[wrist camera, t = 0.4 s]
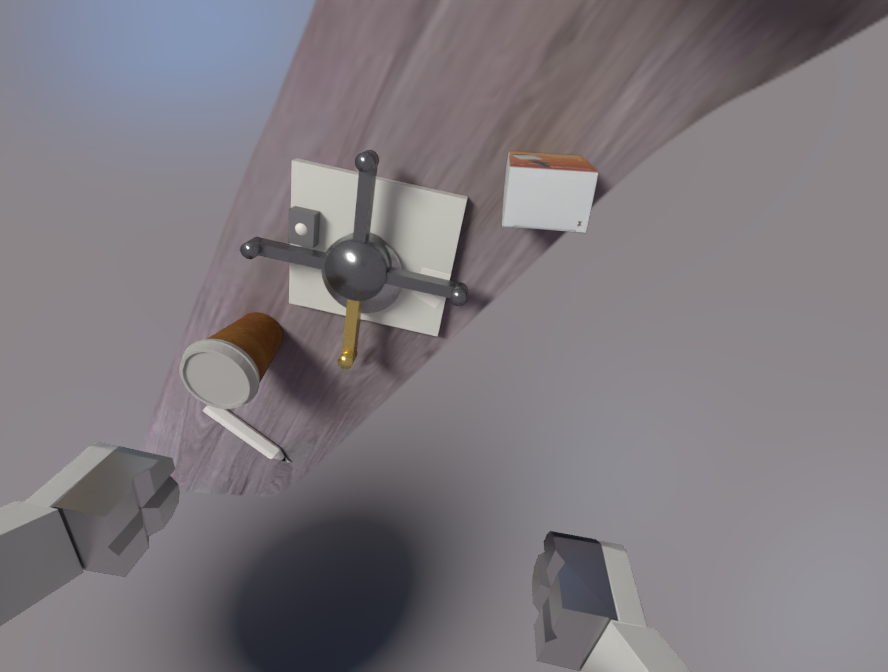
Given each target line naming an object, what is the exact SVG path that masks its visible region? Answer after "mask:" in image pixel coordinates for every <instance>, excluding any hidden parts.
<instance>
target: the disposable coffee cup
mask: <svg viewBox="0 0 888 672" xmlns="http://www.w3.org/2000/svg"><path fill="white" fill-rule="evenodd" d="M282 341H283V332H282V330H281V327H280V326H279V324H278V323H277V322H276V321H275V320H274V319H273V318H271V317H270V316H268V315H266V314H263V313H257V312H255V313H250V314H247V315H246V316H244V317H242V318H241V319H239V320H238V321H236V322H234V323H233V324H231V325H229V326H227V327H226V328H224V329H222V330H221V331H219V332H217V333H216V334H214V335H212V336H211V337H209V338H208V339H206V340H201V341H198V342H195V343H193V344H192V345H190V346H189V347H188V348H187V349H186V350H185V352H184V354H183V358H182V360H181V363H180V367H179V370H180V376H181V379H182V381H183V383H184V385H185V387H186V388H187V390H188V391H189V392H190V393H191V394H192V395H193V396H194V397H195V398H197V399H198V400H200V401H201V402H203V403H205V404H207V405H209V406H212V407H215V408H219V409H232V408H236V407H238V406H240V405H243V404H246V403H248V402H249V401H251V400H252V399H253V398H254V397H255V395H256V394H257V392H258V388H259V383H260V381H261V380H262V378H263V376H264V374H265V372H266V371H267V369H268V367H269V365H270V364H271V362H272V360H273V358H274V357H275V355H276V353H277V351H278V350H279V348H280V346H281V344H282Z"/></svg>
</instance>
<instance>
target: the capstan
mask: <svg viewBox="0 0 888 672" xmlns="http://www.w3.org/2000/svg"><path fill="white" fill-rule="evenodd" d="M378 163H379V157H378V155H377V153H376V152H375V151H373V150H367V151H365V152H362V153H360V154H358V155H357V157H356V158H355V165H356V167H357V169H358V170H359V177H358V188H357V199H356V209H355V220H354V231H353V233H351V234H349V235H346V236H343V237H341V238H340V239H338V240H337V241H336V242H334V243H333V244H332V245H331V246H330V247H329V248H328V250H327V251H326V252H321V251H317V250H313V249H308V248H304V247H299V246H295V245H290V244H286V243H281V242H277V241H273V240H268V239H264V238H260V237H254V238H253V239H251V240H249V241H248V242H246V243H244V244H243V245H242V246H241V248H240V251H241V254H242V255H243V256H244V257H245V258H247V259H253V258H255V257H256V256H257V255H259V256H264V257H268V258H273V259H277V260H282V261H286V262H290V263H295V264H299V265H304V266H308V267H313V268H317V269H321V272H322V278H323V282H324V284H325V287H326V289H327V290H328V292H329V293H330V295H331V296H332V297H333V298H334V299H335V300H336V301H337V302H338V303H339V304H341V305H342V306H344V307H345V308H346V319H345V330H344V340H343V351H342V354H341V356H340V358H339V359H338V365H339V366H340V367H341V368H343V369H349V368H350V367H351V366H352V364H353V362H354V360H355V358H356V357H357V345H358V336H359V327H360V318H361V313H375V312H379V311H382V310H384V309H386V308H387V307H389V306H390V305H391V304H392V303H394V301H395V300H396V299H397V297H398V295H399V294H400V291H401V289H402V288H406V289H411V290H415V291H419V292H424V293H428V294H433V295H437V296H442V297H446V298H450V300H451V302H452V303H453V304H454V305H456V306H462V305H464V304H465V302H466V299H467V293H468V288H467V286H466V285H465V284H464V283H459V282H455V281H450V280H446V279H442V278H437V277H433V276H428V275H424V274H419V273H415V272H410V271H406V270H403V267H402V264H401V261H400V259H399V257H398V255H397V254H396V252H395V251H394V250H393V249H392V248H391V247H390V246H389V245H388V244H387V243H386V242H385V241H384V240H383V239H382V238H381V237H379V236H378V235H376V234H373V233H371V232H370V228H371V219H372V210H373V201H374V192H375V183H376V174H377V165H378Z"/></svg>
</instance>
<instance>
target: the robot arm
mask: <svg viewBox="0 0 888 672" xmlns="http://www.w3.org/2000/svg"><path fill="white" fill-rule="evenodd" d="M174 470H175V467H174V463H173V459H172V458H170V457H166V456H161V455H157V454H152V453H148V452H143V451H139V450H134V449H130V448H125V447H121V446H115V445H111V444H106V443H102V442H99V443H96V444H94V445H91V446H89V447H88V448H87V449H86V450H85V451H83V452H82V453H81V454H80V455H79V456H78V457H76V458H75V459H74V460H73V461H72V462H71V463H69V464H68V465H67V466H66V467H65V468H64V469H62V470H61V471H60V472H59V473H58V474H57V475H55V476H54V477H53V478H52V479H51V480H49V481H48V482H47V483H46V484H45V485H44V486H43V487H41V488H40V489H39V490H38V491H37V492H35V493H34V494H33V495H32V496H31V497H29V498H28V499H27V500H26V501H25V502H22V501H15V502H12V503H10V504H7V505H5V506H3V507H0V626H1V625H3V624H4V623H6V622H7V621H9V620H11V619H12V618H14V617H15V616H17V615H18V614H20V613H21V612H23V611H25V610H26V609H28V608H29V607H31V606H32V605H34V604H35V603H37V602H38V601H40V600H42V599H43V598H45V597H46V596H48V595H49V594H51V593H52V592H54V591H56V590H57V589H59V588H60V587H62V586H63V585H65V584H66V583H68V582H70V581H71V580H73V579H74V578H76V577H77V576H79V575H80V574H82V573H83V570H87V571H93V572H99V573H104V574H110V575H116V576H122V577H126V576H127V575H128V573H129V572H130V571H131V569H132V568H133V567H134V566H135V564H136V563H137V562H138V560H139V559H140V558H141V557H142V555H143V554H144V553H145V552H146V550H147V549H148V548H149V536H151V535H152V534H154V533H156V532H158V531H160V530H161V529H163V528H164V527H165V526H166V524H167V523H168V522H169V520H170V519H171V518H172V516H173V514H174V512H175V509H176V507H177V505H178V502H179V494H180V491H179V486H178V483H177V482H176V481H175V480H174V479H173V478H172V477H171V476H170V475H171V474H172V472H173V471H174ZM544 551H545V552H544V553H542V554H540V555H538V558H537V561H536V564H535V567H534V573H533V579H532V596H533V604H534V605H535V607H536V608H537V609H538V611H539V615H538V618H537V620H536V622H535V625H534V627H535V628H534V629H535V643H536V657H537V661H539V662H544V663H548V664H552V665H556V666H560V667H565V668H569V669H573V670H578V671H580V672H690V671H689V669H688V668H687V667H686V666H685V664H684V663H683V662H682V661H681V659H680V658H679V657H678V656H677V655H676V653H675V652H674V651H673V650H672V649H671V647H670V646H669V645H668V644H667V642H666V641H665V640H664V639H663V637H662V636H661V635H660V634H659V632H658V631H657V630H656V629H654V628H650V627H648V626H647V622H646V619H645V615H644V612H643V608H642V605H641V601H640V598H639V594H638V590H637V587H636V583H635V580H634V576H633V573H632V569H631V566H630V562H629V559H628V555H627V551H626V549H625V548H624V546H623V545H620V544H615V543H610V542H605V541H599V540H596V539H592V538H585V537H581V536H575V535H570V534H564V533H558V532H553V531H550V532H549V533H548V534H547V535H546V538H545V540H544Z"/></svg>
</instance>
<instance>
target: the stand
mask: <svg viewBox="0 0 888 672" xmlns="http://www.w3.org/2000/svg"><path fill="white" fill-rule="evenodd" d="M358 177H359V172H355V171H351V170H347V169H342V168H338V167H333V166H329V165H324V164H320V163H315V162H311V161H306V160H302V159H294V160H292V178H291V208H290V209H289V226H288V243H290V245H295V246H299V247H304V248H308V249H313V250H317V251H321V252H326V251H327V250H328V248H329V247H330V246H331V245H332V244H333V243H334V242H336V241H337V240H338V239H340V238H341V237H343V236H346V235H349V234H351V233H353V231H354V220H355V209H356V199H357V188H358ZM467 198H468V197H467V196H463V195H458V194H454V193H449V192H445V191H440V190H436V189H431V188H427V187H422V186H418V185H414V184H409V183H405V182H400V181H396V180H391V179H387V178H382V177H378V176H376V183H375V192H374V201H373V210H372V219H371V228H370V232H371V233H373V234H376V235H378V236H379V237H381V238H382V239H383V240H384V241H385V242H386V243H387V244H388V245H389V246H390V247H391V248H392V249H393V250H394V251H395V252H396V254H397V255H398V257H399V259H400V261H401V264H402V267H403V270H406V271H410V272H415V273H419V274H424V275H428V276H433V277H437V278H442V279H446V280H450V277H451V273H452V268H453V263H454V259H455V254H456V249H457V245H458V240H459V235H460V231H461V226H462V221H463V217H464V212H465V207H466V203H467ZM445 301H446V297H442V296H437V295H433V294H428V293H424V292H419V291H415V290H411V289H406V288H402V289H401V291H400V294H399V295H398V297H397V299H396V300H395V301H394V303H392V304H391V305H390V306H389V307H387V308H386V309H384V310H382V311H379V312H375V313H361V318H360V319H362V320H367V321H371V322H376V323H380V324H384V325H389V326H393V327H398V328H402V329H407V330H411V331H415V332H420V333H424V334H429V335H433V336H438V333H439V328H440V324H441V319H442V314H443V310H444V305H445ZM289 303H291V304H296V305H300V306H305V307H309V308H313V309H318V310H322V311H327V312H331V313H336V314H340V315H344V316H346V308H345V307H344V306H342V305H341V304H339V303H338V302H337V301H336V300H335V299H334V298H333V297H332V296H331V295H330V293H329V292H328V290H327V289H326V287H325V284H324V282H323V278H322V272H321V269H317V268H313V267H308V266H304V265H299V264H295V263H290V283H289Z"/></svg>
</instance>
